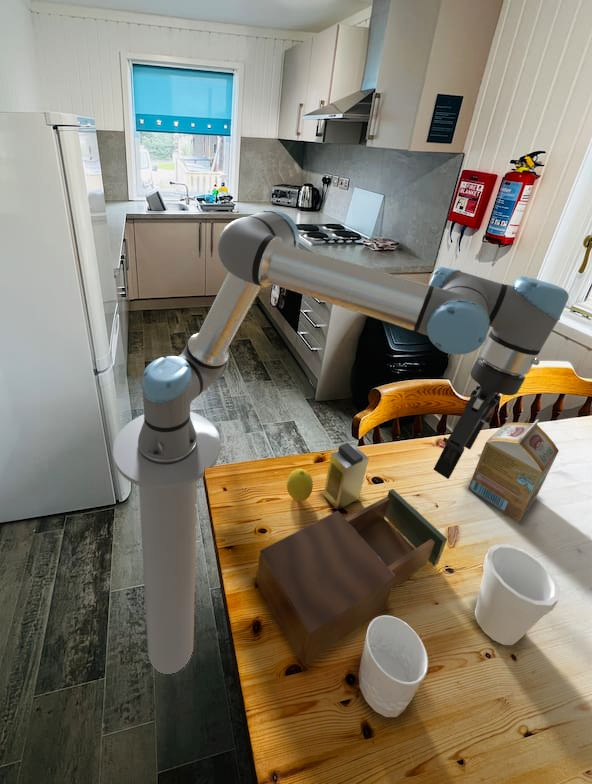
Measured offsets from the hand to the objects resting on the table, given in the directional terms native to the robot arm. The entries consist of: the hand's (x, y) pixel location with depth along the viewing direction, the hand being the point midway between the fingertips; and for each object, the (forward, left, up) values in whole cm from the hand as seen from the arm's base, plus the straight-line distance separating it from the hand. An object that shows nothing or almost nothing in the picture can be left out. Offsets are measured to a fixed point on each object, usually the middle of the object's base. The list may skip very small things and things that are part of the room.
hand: (453, 458), depth 76 cm
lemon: (-18, -22, -18) cm, 33 cm away
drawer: (0, -15, -17) cm, 23 cm away
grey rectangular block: (-13, -13, -18) cm, 26 cm away
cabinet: (0, -31, -18) cm, 36 cm away
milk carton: (+2, +22, -18) cm, 29 cm away
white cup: (+14, -31, -18) cm, 38 cm away
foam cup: (+17, -7, -18) cm, 26 cm away
